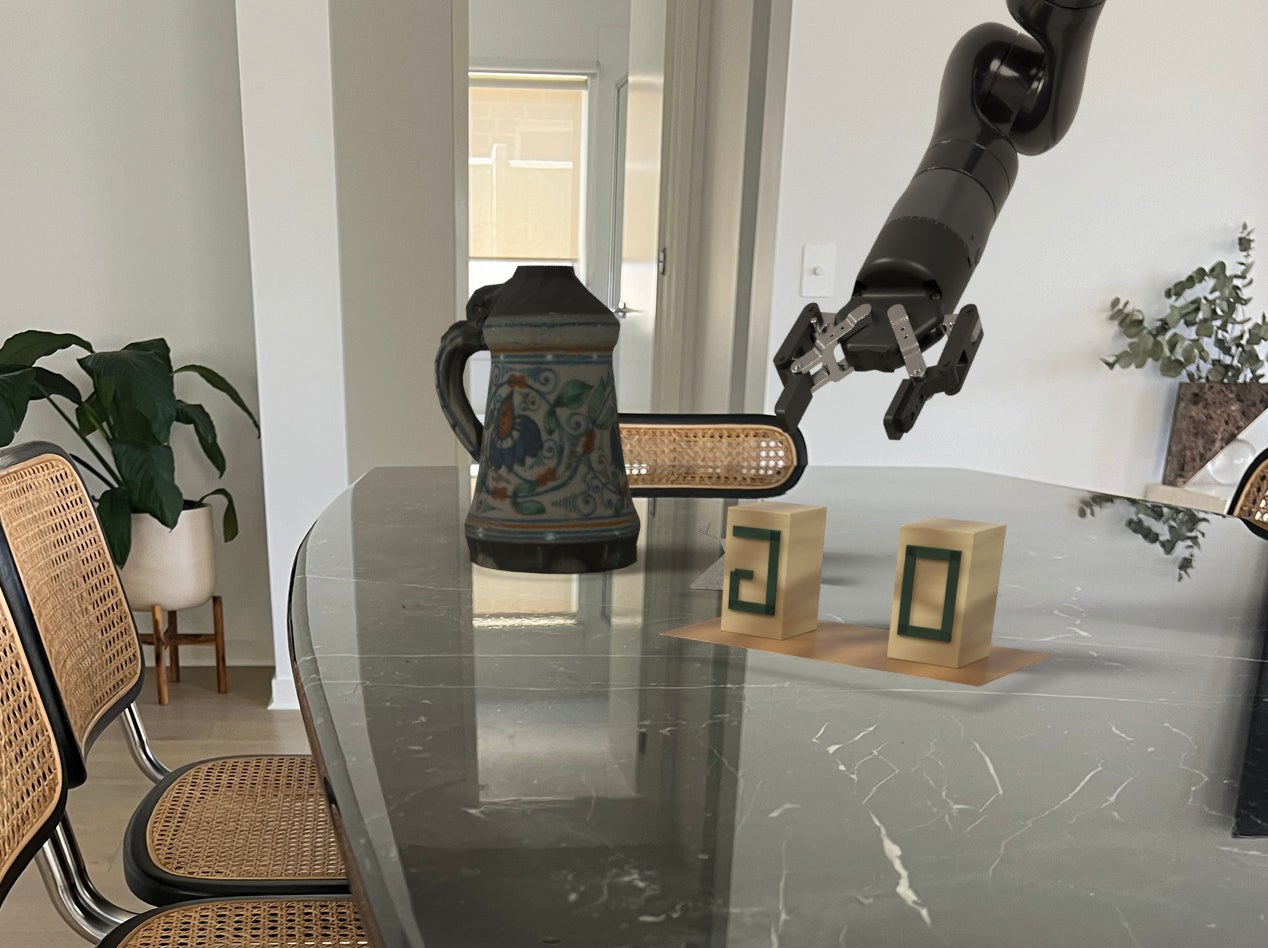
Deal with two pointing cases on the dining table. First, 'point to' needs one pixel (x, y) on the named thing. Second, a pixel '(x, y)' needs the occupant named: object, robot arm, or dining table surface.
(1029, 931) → the dining table surface
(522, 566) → the beer stein
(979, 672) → the word mat
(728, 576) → the letter G
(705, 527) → the paper boat
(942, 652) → the letter O
